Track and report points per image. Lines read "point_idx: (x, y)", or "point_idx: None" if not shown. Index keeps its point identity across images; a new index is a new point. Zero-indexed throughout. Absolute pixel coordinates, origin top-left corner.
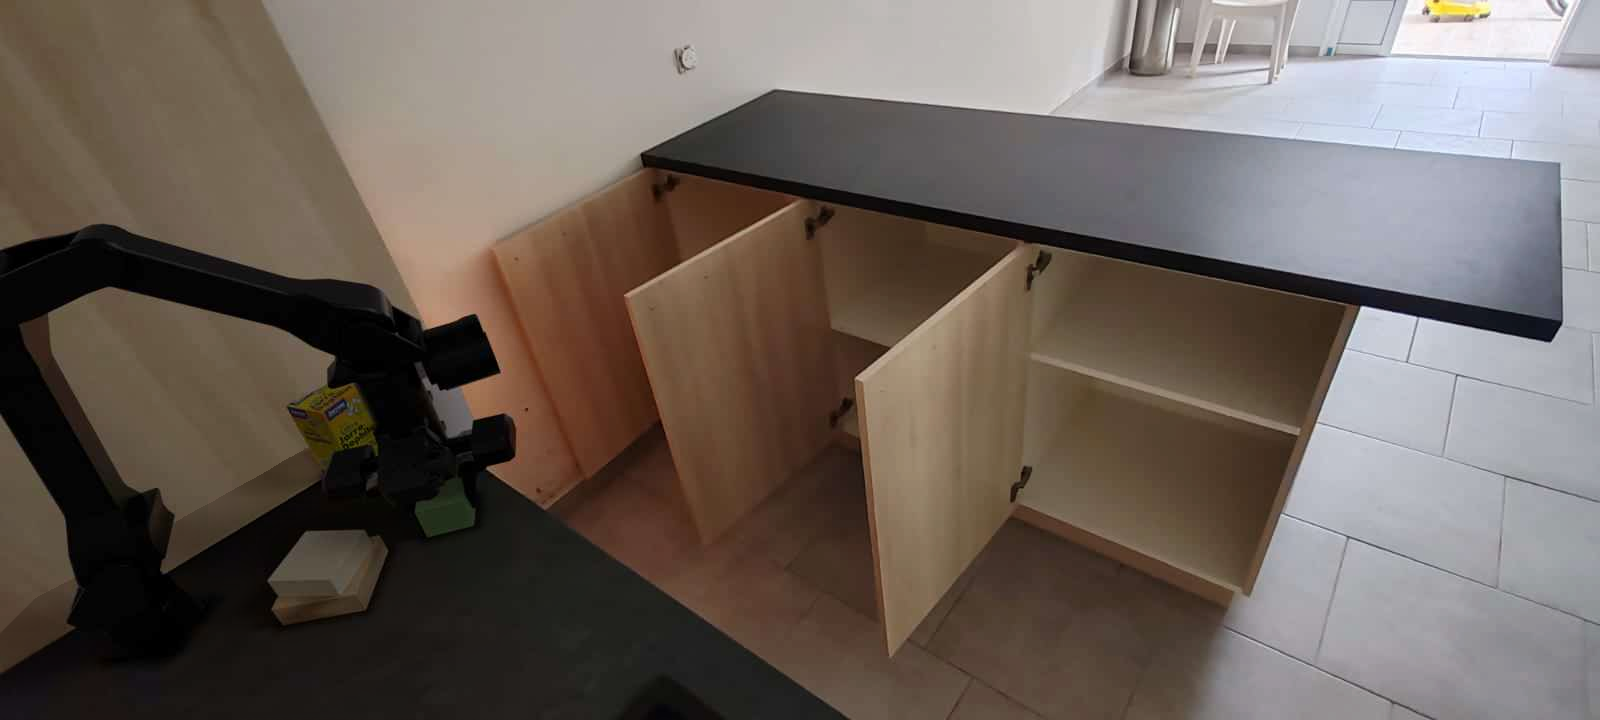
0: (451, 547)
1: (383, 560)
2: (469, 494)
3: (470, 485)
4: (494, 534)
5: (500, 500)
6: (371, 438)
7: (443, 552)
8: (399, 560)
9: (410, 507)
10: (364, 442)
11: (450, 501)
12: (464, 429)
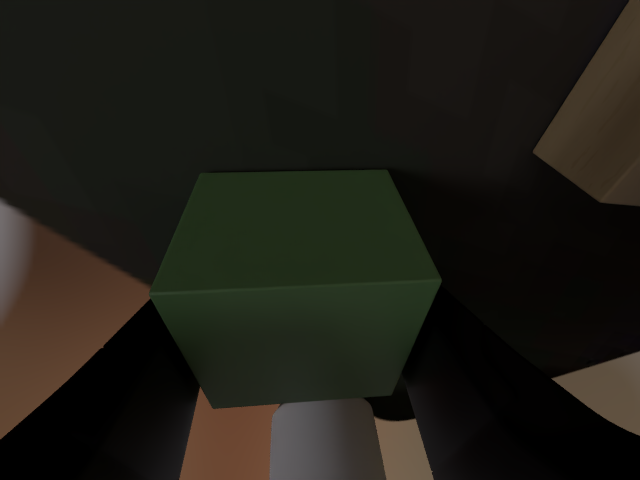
0: (282, 70)
1: (577, 93)
2: (160, 316)
3: (93, 381)
4: (70, 84)
5: (142, 263)
6: None
7: (319, 46)
8: (514, 75)
9: (448, 309)
10: None
11: (232, 302)
12: (282, 455)
